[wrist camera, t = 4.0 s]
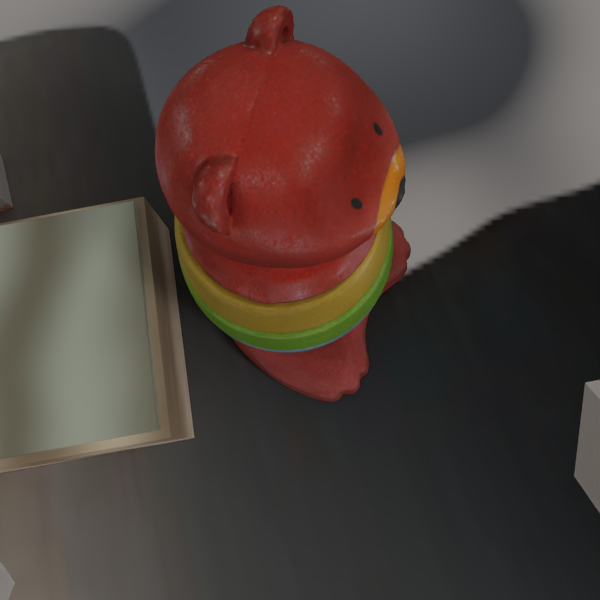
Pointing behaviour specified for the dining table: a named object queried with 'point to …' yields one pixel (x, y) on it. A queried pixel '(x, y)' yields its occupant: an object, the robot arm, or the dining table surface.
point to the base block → (89, 336)
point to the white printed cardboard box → (4, 189)
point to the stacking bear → (284, 203)
